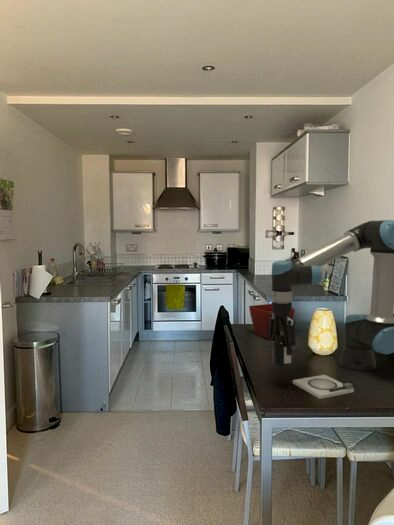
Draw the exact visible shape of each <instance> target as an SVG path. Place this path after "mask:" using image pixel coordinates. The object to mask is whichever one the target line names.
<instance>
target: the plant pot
mask: <svg viewBox="0 0 394 525" xmlns="http://www.w3.org/2000/svg"><path fill="white" fill-rule="evenodd" d="M248 308H249V314H250V318H251V322H252V326H253V330H254V331H255V334H256V335H257V336H259V337H262V338H263V339H267V340H271V338H269V325H270V317H269V314H274V312H273V311H272V303H266V304H265V303H264V304H255V305H249V306H248ZM295 310H296V309H295V308H293V307H292V311H291V312H290V313H289V315H290V319H291V320H294V315H295ZM284 327H285V326H284ZM280 332H283V331H282V329H280Z"/></svg>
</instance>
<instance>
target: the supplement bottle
mask: <svg viewBox="0 0 394 525" xmlns="http://www.w3.org/2000/svg"><path fill="white" fill-rule="evenodd" d="M284 346H285V341H284V336H283V332H278V333H275V340H274V341H273V347H272V363H273V365H275V366H277V367H287V366H290V365H291V364H292V362H291V363H287V364H285V363H284Z"/></svg>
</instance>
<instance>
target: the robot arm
mask: <svg viewBox="0 0 394 525" xmlns="http://www.w3.org/2000/svg"><path fill="white" fill-rule="evenodd" d="M365 249H370V251H369V253H370V255H372V256H373V264H372V265H373V266H372V267H373V269H372V279H371V280H372V282H371V296H370V298H371V300H370V314H358V313H357V314H356V313H355V314H348V315H346V316H345V321H344V347H343V349H342V353H341V356H340V357H339V364H340V365H341V367H343V368H346V369H350V370H353V371H361V372H362V371H363V372H368V371H373V370H376V368H377V361H376V359H375V355H374V351H375V352H376V353H379V354H383V355H390V354H393V353H394V220H393V219H385V220H384V219H382V220H369V221H366V222H363V223H361V224H358V225H357V226H355V227H353V228H351V229H349V230H347V231H345V232H344V233H343V235H342V236H340V237H338V238H336V239H334V240H332V241H330V242H328V243H326V244H324V245H322V246H320V247H318V248H316V249H313V250H312V251H310V252H308V253H306V254H304V255H302V256H299V257H297V258H296V259H293V260H292V261H287V260H286V261H285V260H283V261H282V260H281V261H280V260H279V261H274V262H272V265H271V273H270V274H271V300H272V301H271V304H272V311H273V312H274V314H269V317H270V325H269V338H271V339H270V340H271V342H272V348H273V341H274V340H275V333H278V332H280V329H282V331H283V336H284V341H285V346H284V363H285V364H287V363H291V364H292V354H293V353H292V348H293V347H295V346H296V345H297V342H296V328H295V327H296V326H295V325H296V320H295V319H293V320H291V319H290V315H289V313H290V312H291V311H292V308H293V307H292V305H293V303H292V301H293V291H292V290H293V286H294V287H296V286H313V285H318V284H320V283H321V281H322V280H323V278H322V277H323V276H322V275H323V273H322V269H321V267H323V266H325V265H328V264H329V263H331V262H333V261H335V260H336V259H340V258H341V257H343V256H345V255H347V254H349V253H352V252H355V253H356V252H358V251H360V250H365ZM284 326H285V327H284Z"/></svg>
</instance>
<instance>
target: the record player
mask: <svg viewBox="0 0 394 525" xmlns="http://www.w3.org/2000/svg"><path fill="white" fill-rule="evenodd" d="M292 384H294V385H295V386H297V387H298V388H300V389H303V390H304V391H306V392H307V393H309V394H311V395H312V396H314V397H316V398H318V399H319V400H321V399H325V398H326V399H327V398H331V397H336V396H340V395H346V394H352V393H355V388H353V386H354V385H353V383H350V382H345V383H342V382H340V381H338V380H337V379H335V378H332V377H330V376H328V375H326V374H320V375H314V376H309V377H302V378H298V379H292Z"/></svg>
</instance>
